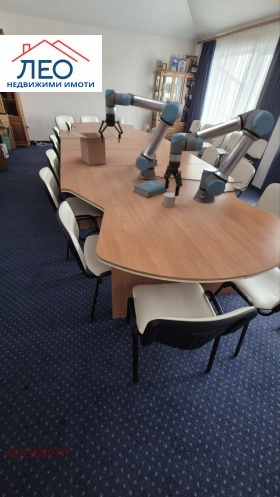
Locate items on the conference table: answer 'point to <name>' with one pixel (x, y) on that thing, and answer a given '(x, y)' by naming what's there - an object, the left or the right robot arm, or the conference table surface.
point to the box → (92, 146)
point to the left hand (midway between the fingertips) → (110, 142)
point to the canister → (169, 199)
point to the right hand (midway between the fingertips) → (171, 192)
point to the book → (149, 188)
